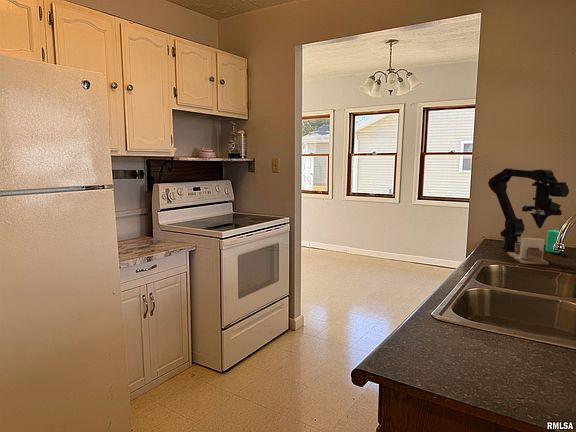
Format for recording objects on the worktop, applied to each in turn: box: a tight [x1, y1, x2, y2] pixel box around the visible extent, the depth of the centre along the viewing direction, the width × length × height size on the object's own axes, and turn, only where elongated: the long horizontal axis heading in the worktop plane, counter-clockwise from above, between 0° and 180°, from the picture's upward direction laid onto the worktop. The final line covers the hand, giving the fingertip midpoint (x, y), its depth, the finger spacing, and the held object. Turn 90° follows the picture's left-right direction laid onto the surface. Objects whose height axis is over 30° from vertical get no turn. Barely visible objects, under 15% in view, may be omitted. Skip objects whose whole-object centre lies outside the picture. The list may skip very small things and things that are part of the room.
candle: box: [545, 229, 561, 254], centre depth 198 cm, size 6×6×12 cm
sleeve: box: [520, 237, 545, 260], centre depth 177 cm, size 3×9×9 cm, turn 79°
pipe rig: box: [507, 242, 550, 266], centre depth 182 cm, size 18×11×6 cm, turn 169°
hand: (539, 228), depth 189 cm, fingers closed
